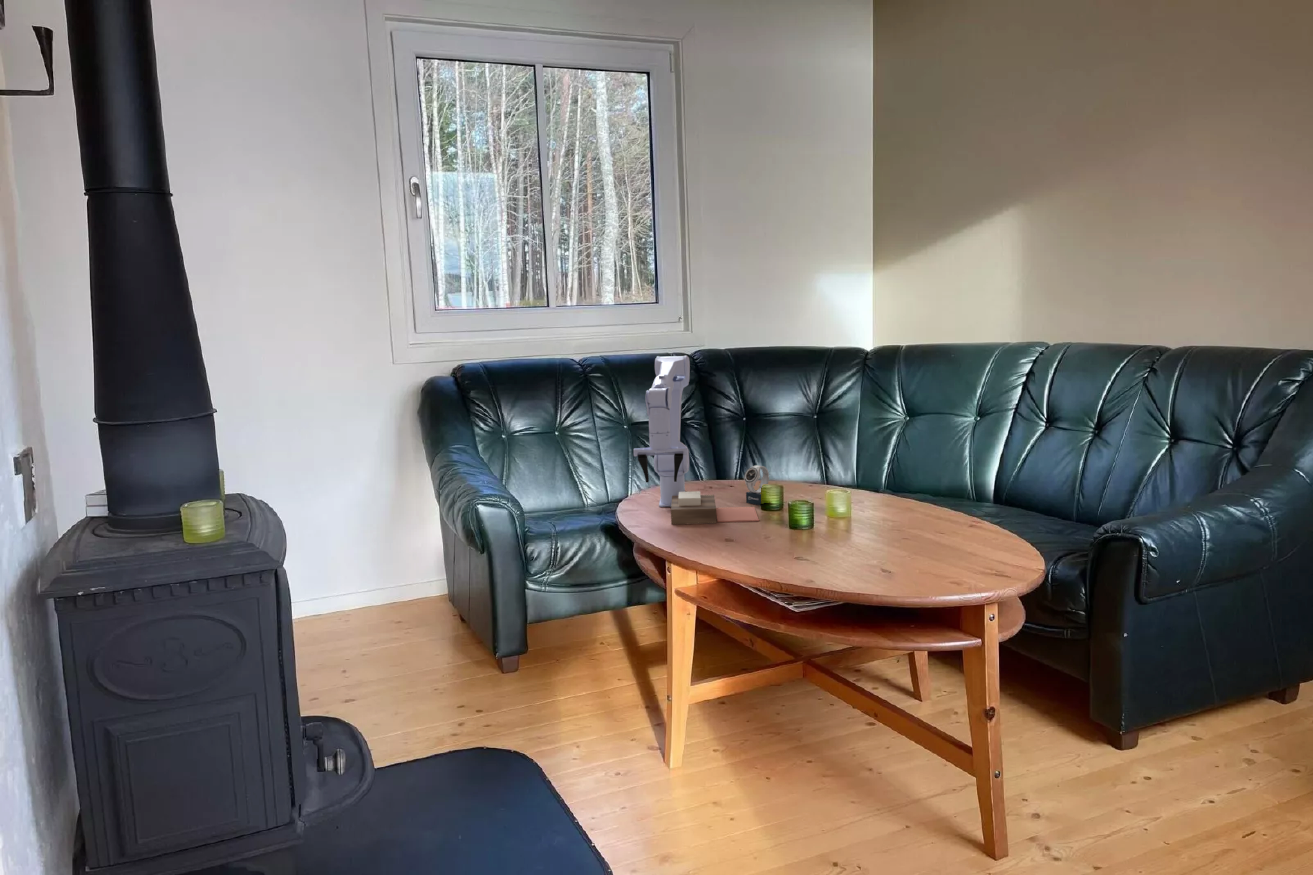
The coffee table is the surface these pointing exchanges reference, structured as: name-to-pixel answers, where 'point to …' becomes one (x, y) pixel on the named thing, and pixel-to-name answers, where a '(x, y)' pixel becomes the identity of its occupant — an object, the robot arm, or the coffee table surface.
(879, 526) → the coffee table surface
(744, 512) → the mat
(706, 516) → the brown wooden block
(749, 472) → the watch
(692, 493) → the tile
